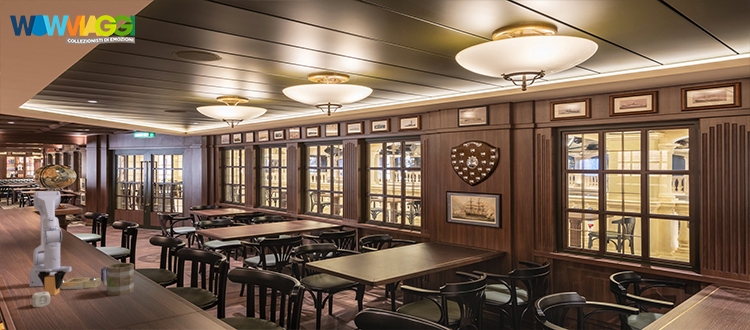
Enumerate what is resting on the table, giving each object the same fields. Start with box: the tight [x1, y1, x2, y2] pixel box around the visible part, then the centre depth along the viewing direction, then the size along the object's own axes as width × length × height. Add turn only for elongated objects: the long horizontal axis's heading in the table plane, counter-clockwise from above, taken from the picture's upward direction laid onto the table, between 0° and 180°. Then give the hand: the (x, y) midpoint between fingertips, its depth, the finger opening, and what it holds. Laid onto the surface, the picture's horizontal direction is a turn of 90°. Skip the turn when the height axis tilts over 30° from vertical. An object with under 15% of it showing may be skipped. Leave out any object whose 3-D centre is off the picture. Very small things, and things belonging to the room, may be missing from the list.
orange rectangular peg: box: [44, 275, 61, 296], centre depth 193 cm, size 4×4×8 cm
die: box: [31, 291, 51, 308], centre depth 178 cm, size 5×5×5 cm
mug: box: [102, 262, 135, 297], centre depth 197 cm, size 16×11×12 cm
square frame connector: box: [60, 276, 102, 290], centre depth 204 cm, size 18×8×4 cm, turn 100°
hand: (52, 288), depth 193 cm, fingers closed on orange rectangular peg, 4 cm apart
